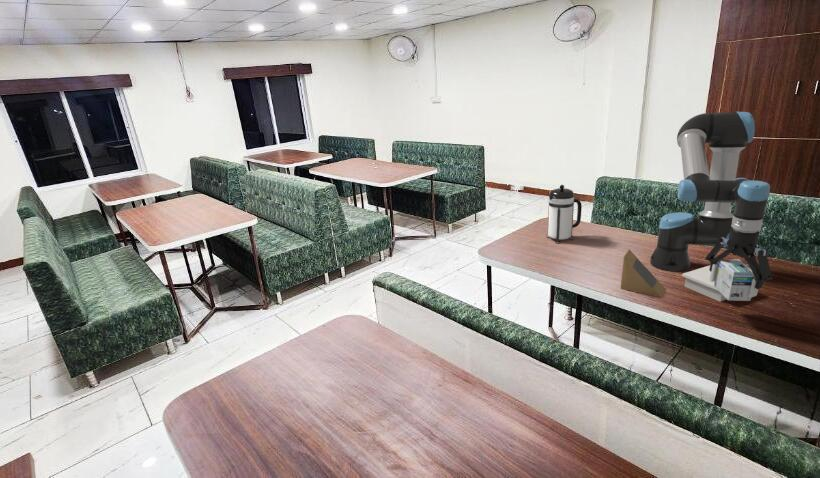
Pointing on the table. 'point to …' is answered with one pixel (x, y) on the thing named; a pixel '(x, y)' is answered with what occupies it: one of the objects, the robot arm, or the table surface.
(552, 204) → the coffee press
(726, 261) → the light bulb box
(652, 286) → the sandwich container
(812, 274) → the table surface
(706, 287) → the podium
